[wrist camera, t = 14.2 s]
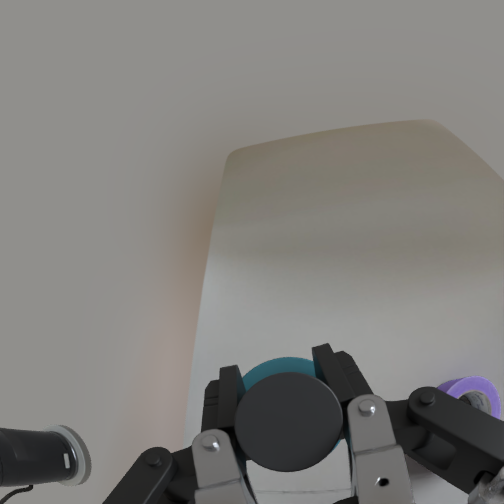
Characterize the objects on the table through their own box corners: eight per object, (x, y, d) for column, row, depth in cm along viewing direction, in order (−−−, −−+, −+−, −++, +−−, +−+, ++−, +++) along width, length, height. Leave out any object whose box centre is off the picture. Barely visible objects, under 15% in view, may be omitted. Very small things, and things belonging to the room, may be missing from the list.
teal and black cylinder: (255, 454, 16) (214, 515, 6) (239, 380, 19) (181, 352, 9) (336, 436, 16) (397, 474, 6) (318, 362, 19) (355, 312, 9)
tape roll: (436, 474, 25) (453, 480, 20) (401, 417, 30) (416, 418, 26) (491, 418, 26) (511, 417, 22) (460, 363, 32) (479, 357, 27)
